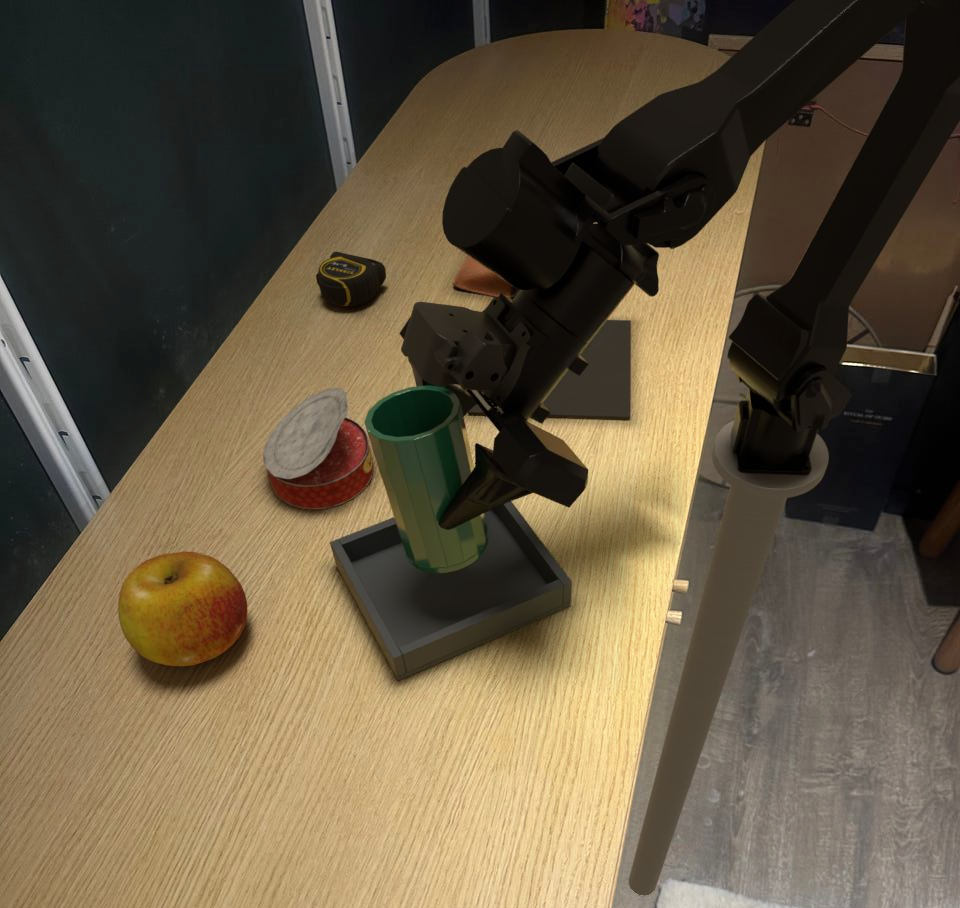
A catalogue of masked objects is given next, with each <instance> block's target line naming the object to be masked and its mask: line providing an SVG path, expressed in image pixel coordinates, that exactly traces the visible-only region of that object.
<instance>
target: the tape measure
mask: <svg viewBox="0 0 960 908" xmlns="http://www.w3.org/2000/svg"><path fill="white" fill-rule="evenodd" d="M386 271H387V270H386V266H385V265H384V263H382V262H380V261H379V260H376V259H373V258H369V257H362V256H359V255H354V254H350V253H349V254H348V253H345V252H342V251H341V252H340V251H333V252H332V253H331V254H330V256H329V258H327V259H325V260H324V261H323V262H322V263H320V265H319V267H318V271H317V273H316V275H315V279H316V284H317V285H318V287H319V290H320V294H321V296H322V298H323V299H324V300H325V301H327V302H328V303H330V304H331V305H336V306H340V307H341V306H342V307H354V306H359V305H363V304H365V303H367V302H369V301H370V300H372V299H373V298H374V297H375V296H376V294H377V293H378V290H379V288H380V287H381V286H382V285H383V284H384V283H385V282H386V279H387V272H386Z"/></svg>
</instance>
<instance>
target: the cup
mask: <svg viewBox="0 0 960 908" xmlns="http://www.w3.org/2000/svg"><path fill="white" fill-rule="evenodd" d="M364 426H365V429H366V430H365V431H366V434H367V436H368V439H369V443H370V445H371V449H372V452H373V455H374V458H375V461H376V464H377V468H378V471H379V474H380V478H381V480H382V484H383V488H384V490H385V493H386V497H387V500H388V503H389V506H390V509H391V513H392V516H393V517H394V519H395V523H396V526H397V529H398V532H399V535H400V539H401V542H402V545H403V548H404V551H405V554H406V557H407V559H408V561H409V562H410V563H411V564H412V565H413V566H414V567H415V568H417V569H419V570H421V571H424V572H429V573H448V572H453V571H457V570H460V569H462V568H464V567H467V566H468V565H470V564H472V563H473V562H475V561H476V560H477V559H478V558H479V557H480V556H481V555H482V554H483V553H484V551H485V549H486V547H487V544H488V533H487V532H488V530H487V525H486V520H485V516H484V513H483V514H481V515H479V516H477V517H475V518H473V519H471V520H469V521H467V522H465V523H463V524H461V525H459V526H457V527H455V528H453V529H451V530H446V529H443V528H441V527H440V526H439V525H438V521H439V520H440V518H441V516H442V514H443V513H444V511H445V509H446V507H447V506H448V504H449V503H450V502H451V500H452V499H453V497H454V496H455V495H456V493H457V492H458V490H459V489H460V488H461V486H462V485H463V483H464V482H465V480H466V479H467V478H468V476H469V475H470V473H471V472H472V471H473V469H474V467H475V463H474V460H473V459H474V458H473V454H472V451H471V446H470V440H469V437H468V430H467V427H466V422H465V416H464V417H463V412H462V407H461V403H460V401H459V399H458V397H457V395H456V394H455V393H453V392H452V391H450V390H448V389H446V388H444V387H437V386H430V385H429V386H428V385H427V386H416V385H415V386H409V387H406V388H402V389H399V390H397V391H393V392H391V393H390V394H388V395H386V396H384V397H383V398H381V399H379V400H378V401H376V402H375V404H373V405H372V406H371V407H370V409H368V411H367V413H366V415H365V419H364Z"/></svg>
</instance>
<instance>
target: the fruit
mask: <svg viewBox="0 0 960 908" xmlns="http://www.w3.org/2000/svg"><path fill="white" fill-rule="evenodd" d="M117 602H118V604H117V611H118V613H117V615H118V621H119V625H120V629H121V631H122V634H123V636H124V638H125V641H127V643H128V644H129V646H130V647H131V648H132V649H133V650H135V652H137V653H138V654H139V655H140V656H142V657H143V658H144V659H146V660H148V661H150V662H153V663H156V664H159V665H165V666H168V667H189V666H195V665H198V664H201V663H205V662H207V661H210V660H213V659H215V658H217V657H219V656H220V655H221V654H223V653H225V652H226V651H227V650H228V649H229V648H230V647H231V646H233V645H235V643H236V642H237V640H238V639H239V638H240V636H241V634H242V632H243V631H244V629H245V627H246V623H247V619H248V600H247V596H246V592H245V590H244V588H243V586H242V584H241V582H240V581H239V580H238V578H237V576H236V575H235V574H234V573H233V572H232V571H231V570H230V568H229V567H227V565H225V564H224V563H222V562H221V561H220V560H219V559H217V558H214V557H213V556H211V555H208V554H205V553H202V552H198V551H197V552H196V551H177V552H172V553H163V554H159V555H156V556H154V557H151V558H148V559H146V560H144V561H143V562H141V563H140V564H139V565H137V566H136V567H134V569H133V570H132V571H131V572H130V573H129V574H128V575H127V577H126V578H125V579H124V581H123V583H122V585H121V588H120V591H119V595H118V601H117Z"/></svg>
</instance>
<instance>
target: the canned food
mask: <svg viewBox="0 0 960 908" xmlns="http://www.w3.org/2000/svg"><path fill="white" fill-rule="evenodd" d="M347 397H348V395H347V392H346V391H345V390H344V389H343V388H342V387H340V386H337V387H327V388H325V389H323V390H321V391H320V392H317V393H313V394H311V395H309V396H308V397H307V398H306V399H304V400H303V401H301V402H300V403H298V404H296V405H294V406H293V407H292V408H291V410H289V412H287V414H286V415H285V416H284V417H282V418H281V419H280V420H279V421H278V423H277V424H276V426H275V428H274V430H273V431H272V432H271V434H270V435H269V436H268V439H267V441H266V443H265V445H264V448H263V452H262V461H263V465H264V466H265V469H266V472H267V476H268V478H269V481H270V485H271V487H272V490H273V492H274V493H275V494H276V497H278V498H279V499H280V500H281V501H283V502H284V503H285V504H288V505H290V506H292V507H296V508H298V509H304V510H324V509H330V508H334V507H337V506H340V505H343V504H345V503H348V502H350V501H352V500H353V499H354V498H356V497H357V496H359V495H360V494H361V493H362V492H363V491H364V490H365V489H366V488H367V487H368V485H369V484H370V482H371V480H372V478H373V475H374V469H375V466H374V460H373V457H372V451H371V447H370V439H369V436H368V433H367V431H366V430H365V428H363V427H362V426H361V425H360V424H359V423H358V422H357V421H355V420H354V419H351V418H350V417H347V415H348V409H349V408H348V407H349V405H348V398H347Z"/></svg>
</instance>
